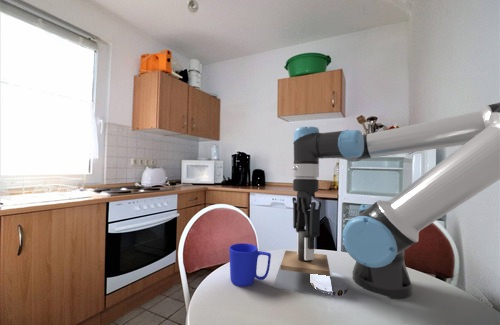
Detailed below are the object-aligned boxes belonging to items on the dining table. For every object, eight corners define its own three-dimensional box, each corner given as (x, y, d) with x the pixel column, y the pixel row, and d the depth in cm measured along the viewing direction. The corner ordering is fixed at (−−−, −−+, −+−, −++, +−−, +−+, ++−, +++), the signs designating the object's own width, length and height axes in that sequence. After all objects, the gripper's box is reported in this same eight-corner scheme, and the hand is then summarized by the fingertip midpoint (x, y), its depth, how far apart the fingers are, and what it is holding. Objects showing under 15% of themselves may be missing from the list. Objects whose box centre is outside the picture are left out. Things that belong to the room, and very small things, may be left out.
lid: (326, 258, 73) (326, 229, 73) (329, 275, 60) (329, 240, 61) (285, 254, 76) (285, 226, 77) (280, 269, 64) (281, 236, 64)
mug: (268, 293, 60) (269, 255, 61) (224, 287, 63) (225, 250, 63) (271, 279, 68) (272, 245, 69) (232, 274, 71) (233, 242, 71)
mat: (329, 273, 74) (329, 271, 74) (334, 299, 58) (334, 297, 59) (280, 266, 78) (280, 265, 78) (272, 289, 63) (272, 287, 63)
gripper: (283, 177, 77) (282, 248, 76) (309, 178, 60) (308, 269, 59) (303, 177, 79) (302, 247, 78) (333, 179, 62) (333, 266, 61)
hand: (305, 256), depth 68 cm, fingers closed on lid, 4 cm apart
